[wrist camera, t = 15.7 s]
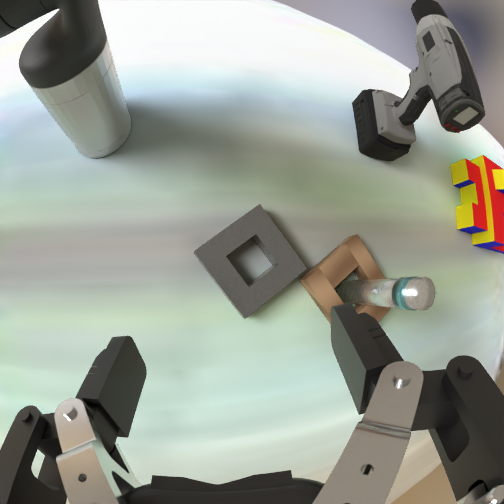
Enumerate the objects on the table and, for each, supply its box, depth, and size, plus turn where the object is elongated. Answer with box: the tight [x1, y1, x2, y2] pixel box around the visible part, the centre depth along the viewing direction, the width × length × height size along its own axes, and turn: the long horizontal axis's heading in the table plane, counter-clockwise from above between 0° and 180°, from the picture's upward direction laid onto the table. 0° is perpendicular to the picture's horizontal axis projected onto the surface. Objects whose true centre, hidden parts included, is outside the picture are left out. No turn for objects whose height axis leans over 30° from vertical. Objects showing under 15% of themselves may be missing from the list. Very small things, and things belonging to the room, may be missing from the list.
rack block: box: [299, 235, 392, 324], centre depth 38 cm, size 12×10×2 cm
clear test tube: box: [338, 277, 435, 310], centre depth 32 cm, size 3×3×16 cm
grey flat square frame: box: [194, 204, 307, 318], centre depth 36 cm, size 10×10×2 cm
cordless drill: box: [352, 0, 485, 161], centre depth 32 cm, size 8×24×25 cm, turn 178°
